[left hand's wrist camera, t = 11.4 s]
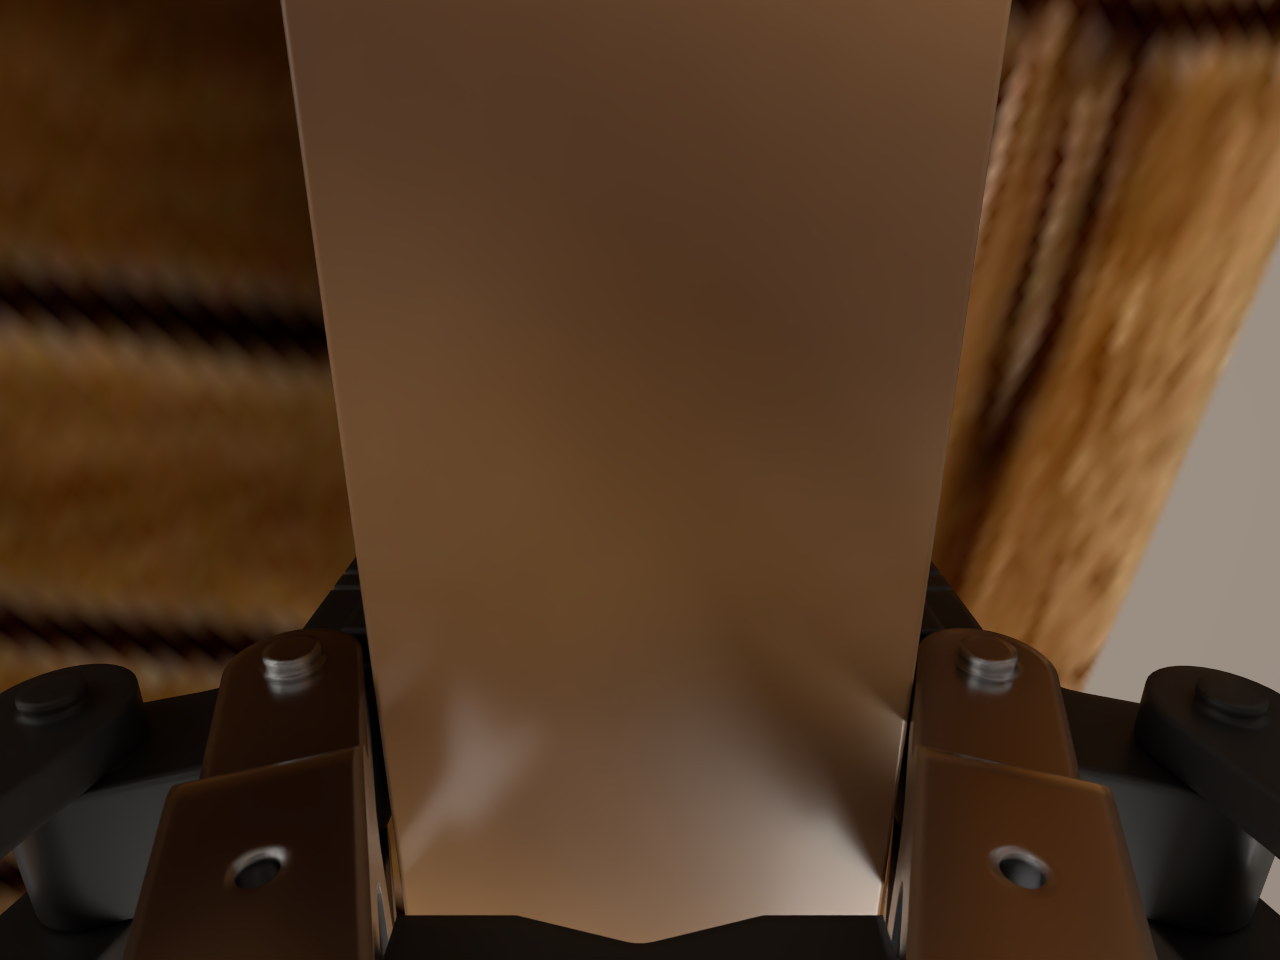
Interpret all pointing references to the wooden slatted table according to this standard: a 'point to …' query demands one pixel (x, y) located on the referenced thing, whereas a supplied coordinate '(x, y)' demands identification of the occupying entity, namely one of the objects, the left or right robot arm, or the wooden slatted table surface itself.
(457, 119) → the post
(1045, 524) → the wooden slatted table surface
